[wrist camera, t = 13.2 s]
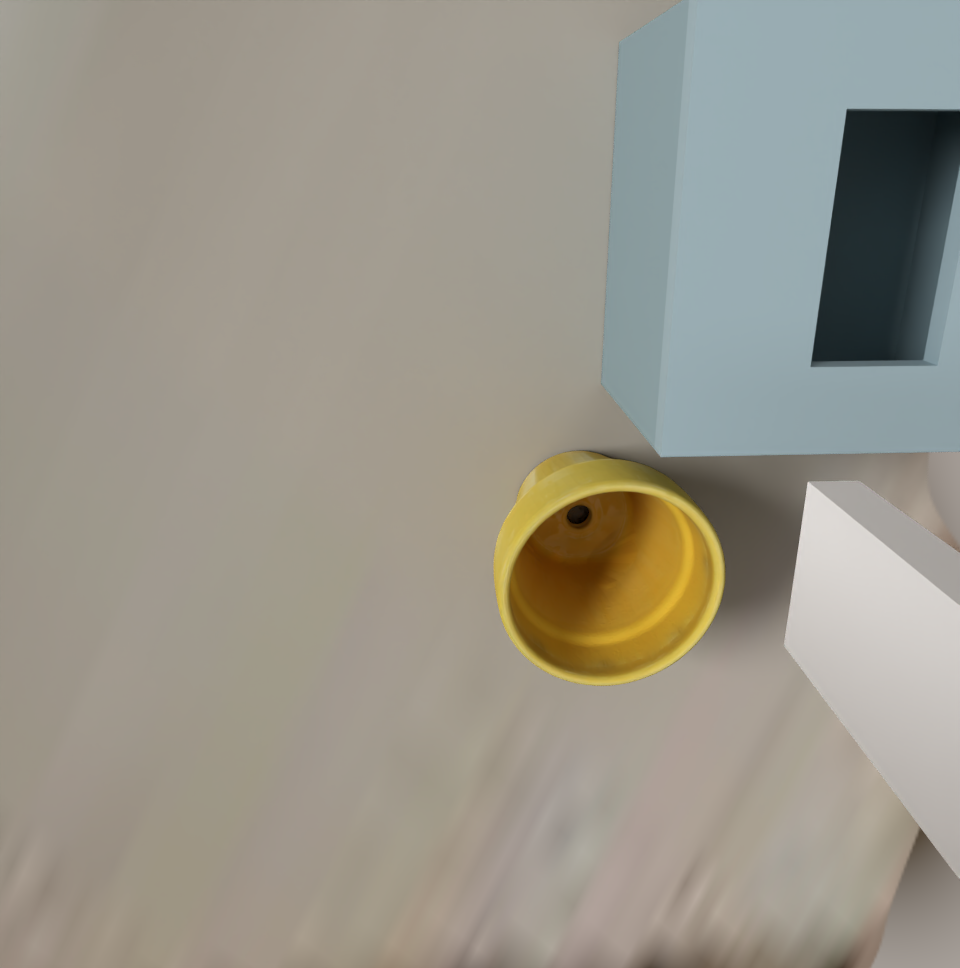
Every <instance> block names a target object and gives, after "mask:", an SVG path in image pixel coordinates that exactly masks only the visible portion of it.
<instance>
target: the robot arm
mask: <svg viewBox="0 0 960 968" xmlns="http://www.w3.org/2000/svg"><path fill="white" fill-rule="evenodd" d="M784 646H785V648H786V649H787V650H788V652H789V653H790V654H791V656H792V657H793V658H794V660H795V661H796V662H797V664H798V665H799V666H800V668H801V669H802V670H803V672H804V673H805V674H806V676H807V677H808V678H809V680H810V681H811V682H812V684H813V685H814V686H815V688H816V689H817V690H818V692H819V693H820V694H821V696H822V697H823V698H824V700H825V701H826V702H827V704H828V705H829V706H830V708H831V709H832V710H833V712H834V713H835V714H836V716H837V717H838V718H839V720H840V721H841V722H842V724H843V725H844V726H845V728H846V729H847V730H848V732H849V733H850V734H851V736H852V737H853V738H854V740H855V741H856V742H857V744H858V745H859V746H860V748H861V749H862V750H863V752H864V753H865V754H866V756H867V757H868V758H869V760H870V761H871V762H872V764H873V765H874V766H875V768H876V769H877V770H878V772H879V773H880V774H881V776H882V777H883V778H884V780H885V781H886V782H887V784H888V785H889V786H890V788H891V789H892V790H893V792H894V793H895V794H896V796H897V797H898V798H899V800H900V801H901V802H902V804H903V805H904V806H905V807H906V809H907V810H908V811H909V813H910V814H911V815H912V817H913V818H914V819H915V821H916V822H917V823H918V825H919V826H920V827H921V829H922V830H923V831H924V833H925V834H926V835H927V837H928V838H929V839H930V841H931V842H932V843H933V845H934V846H935V847H936V849H937V850H938V851H939V852H940V854H941V855H942V856H943V858H944V859H945V861H946V862H947V863H948V865H949V866H950V867H951V869H952V870H953V871H954V873H955V874H956V875H957V877H958V878H959V879H960V553H959V552H958V551H956V550H955V549H953V548H952V547H951V546H949V545H948V544H946V543H945V542H944V541H942V540H941V539H939V538H938V537H937V536H935V535H934V534H933V533H931V532H930V531H928V530H927V529H926V528H924V527H923V526H921V525H920V524H919V523H917V522H916V521H914V520H913V519H912V518H910V517H909V516H908V515H906V514H905V513H903V512H902V511H901V510H899V509H898V508H896V507H895V506H894V505H892V504H891V503H889V502H888V501H887V500H885V499H884V498H882V497H881V496H880V495H878V494H877V493H876V492H874V491H873V490H871V489H870V488H869V487H867V486H866V485H864V484H863V483H862V482H860V481H813V482H808V485H807V492H806V499H805V505H804V512H803V519H802V526H801V533H800V540H799V546H798V553H797V560H796V567H795V574H794V580H793V587H792V594H791V601H790V608H789V615H788V621H787V628H786V635H785V642H784Z"/></svg>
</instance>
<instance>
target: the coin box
mask: <svg viewBox="0 0 960 968" xmlns="http://www.w3.org/2000/svg"><path fill="white" fill-rule="evenodd" d="M601 384H602V386H603V387H604V388H605V389H606V390H607V392H608V393H609V394H610V395H611V397H612V398H613V399H614V400H615V401H616V403H617V404H618V405H619V406H620V408H621V409H622V410H623V411H624V412H625V414H626V415H627V416H628V417H629V419H630V420H631V421H632V422H633V424H634V425H635V426H636V427H637V428H638V430H639V431H640V432H641V433H642V435H643V436H644V437H645V438H646V439H647V441H648V442H649V443H650V444H651V446H652V447H653V448H654V449H655V451H656V452H657V453H658V454H659V455H660V457H690V456H746V455H801V454H857V453H912V452H960V0H683V1H681V2H680V3H678V4H676V5H675V6H673V7H672V8H670V9H669V10H667V11H666V12H664V13H663V14H661V15H660V16H658V17H657V18H655V19H654V20H652V21H651V22H649V23H648V24H646V25H645V26H643V27H642V28H640V29H639V30H637V31H636V32H634V33H632V34H631V35H629V36H628V37H626V38H625V39H623V40H622V41H620V42H619V57H618V76H617V95H616V114H615V133H614V152H613V171H612V190H611V209H610V228H609V247H608V265H607V284H606V303H605V322H604V341H603V360H602V379H601Z"/></svg>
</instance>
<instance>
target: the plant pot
mask: <svg viewBox="0 0 960 968" xmlns="http://www.w3.org/2000/svg"><path fill="white" fill-rule="evenodd" d="M578 505H580V506H582V505H583V506H586V507H587V508H588V509H589V515H588V517H587V519H586V520H585V521H584V522H582V523H580V524H573V523H571V522H569V520H568V519H567V514H568V511H569V510H570V509H571V508H573V507H574V506H578ZM494 582H495V590H496V596H497V602H498V607H499V612H500V615H501V619H502V622H503V624H504V627H505V629H506V631H507V633H508V635H509V637H510V639H511V640H512V642H513V643H514V644H515V646H516V647H517V648H518V650H519V651H520V652H521V653H522V654H523V655H524V656H525V657H526V658H527V659H528V660H530V661H531V662H532V663H533V664H535V665H536V666H537V667H539V668H540V669H542V670H544V671H545V672H547V673H549V674H551V675H553V676H555V677H558V678H561V679H563V680H566V681H570V682H574V683H578V684H585V685H594V686H610V685H619V684H625V683H630V682H633V681H637V680H640V679H643V678H646V677H648V676H651V675H653V674H655V673H658V672H660V671H661V670H663V669H665V668H667V667H668V666H670V665H672V664H673V663H675V662H676V661H678V660H679V659H680V658H682V657H683V656H684V655H685V654H686V653H687V652H689V651H690V650H691V649H692V648H693V647H694V646H695V645H696V644H697V643H698V641H699V640H700V639H701V638H702V636H703V635H704V634H705V632H706V631H707V630H708V628H709V626H710V625H711V623H712V621H713V620H714V618H715V616H716V613H717V611H718V609H719V606H720V603H721V600H722V596H723V591H724V586H725V559H724V554H723V550H722V546H721V543H720V540H719V538H718V535H717V533H716V531H715V529H714V527H713V526H712V524H711V523H710V521H709V520H708V518H707V517H706V516H705V514H704V513H703V512H702V511H701V509H700V508H699V507H698V506H697V505H696V503H695V502H694V501H693V500H692V499H691V498H690V496H689V495H688V494H687V493H686V492H685V491H684V490H682V489H681V488H680V487H679V486H678V485H677V484H676V483H675V482H674V481H672V480H671V479H670V478H668V477H667V476H666V475H664V474H662V473H661V472H659V471H657V470H655V469H653V468H651V467H649V466H646V465H643V464H640V463H637V462H632V461H627V460H621V459H610V458H608V457H606V456H603V455H601V454H598V453H594V452H589V451H570V452H565V453H561V454H558V455H555V456H553V457H551V458H549V459H547V460H545V461H544V462H542V463H541V464H539V465H538V466H537V467H536V468H534V469H533V470H532V472H531V473H530V474H529V475H528V476H527V478H526V479H525V481H524V482H523V484H522V486H521V488H520V490H519V493H518V496H517V501H516V504H515V506H514V507H513V508H512V510H511V511H510V513H509V514H508V516H507V518H506V520H505V521H504V523H503V526H502V528H501V530H500V533H499V536H498V539H497V543H496V548H495V554H494Z"/></svg>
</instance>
